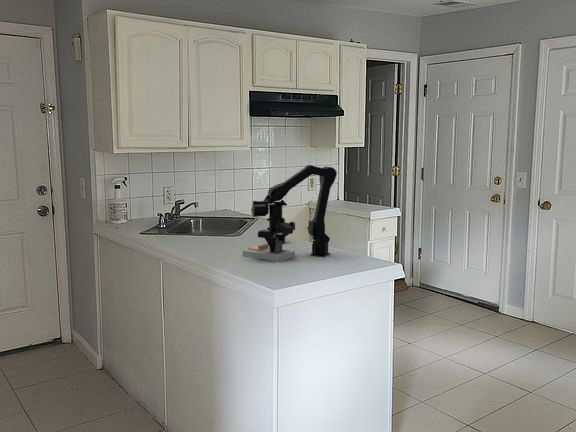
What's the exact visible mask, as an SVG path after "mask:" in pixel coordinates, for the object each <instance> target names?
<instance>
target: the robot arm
mask: <svg viewBox="0 0 576 432" xmlns="http://www.w3.org/2000/svg"><path fill="white" fill-rule="evenodd" d="M337 173H338V172H337V170H336V169H335V168H334V167H331V166H323V167H320V166H319V167H318V166H314V165H312V164H307V165H306V166H305V167H303V168H302V169H301V170H299V171H298V172H296V173H295V174H294V175H292V176H291V177H289V178H287V179H286V180H285V181H283V182H280V183H278V184H275V185H273V186H271V187H270V188H269V189H268V191H267V194H266V197H265V198H264V199H263V200H252V204H251V205H252V206H251V216H252V218H256V217H258V218H259V217H267V215H268V217H267V219H266V221H267V222H269V224H268V225H269V226H268V227H267V229H262V230H258V232H257V238H262V239H264V240H265V241H266V244H268V247H270V249H271V251H272V252H274V250H275V240H276V239H277V238H278V240H279V241H282V243H283V240H284V238H285V239H286V237H287V236H289V235H292V234H293V233H294V231H295V230H296V222H294V221H290V222H286V218H285V217H283V207H286V206H288V204H287V203H286V201H285V200H284V198H285V196H286V195H287V194H288V193H289V192H290V190H292V189H293V188H294V187H296V186H298V185H299V184H300V183H302V182H303V181H305V180H306V179H307V178H309V177H310V176H312V175H313V176H318V177H319V186H320V187H319V191H318V192H319V193H318V195H317V200H316V207H315V211H314V217H313V218H312V220H308V226H307V227H306V230H307V232H308V235H309V236H310V237H311V238H312V244H311V253H310V255H311V256H316V257H326V256H329V255H331V253H330V252H329V242H330V240H331V237H329V236H328V235H327V234H326V224H325V217H326V212H327V207H328V206H327V205H328V203H329V198H330V192H331V188H332V186H333V184H334V183H335V180H336V178H337V175H338V174H337Z"/></svg>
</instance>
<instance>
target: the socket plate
mask: <svg viewBox="0 0 576 432" xmlns="http://www.w3.org/2000/svg"><path fill="white" fill-rule="evenodd" d="M268 247H269V246H268ZM241 251H242V252H241V253H242V256H243V257H248V258H253V259H259V260H266V261H270V262H271V261H272V262H277V263H278V262H283V261H286V260H289V259H292V258H295V257H296V251H295V250H289V249H283V248H282V252H281V253H278V254H276V253H270V247H269V249H266V250H262V251H256V250H249V249H248V248H246V249H243V250H241Z"/></svg>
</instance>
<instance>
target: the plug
mask: <svg viewBox="0 0 576 432" xmlns="http://www.w3.org/2000/svg"><path fill="white" fill-rule="evenodd" d="M282 249H283V244H282V241H279V240H278V238H277V239H276V240H275V250H274V252H272V251H271V249H270V253H276V254H278V253H281V252H282Z"/></svg>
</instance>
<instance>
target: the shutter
mask: <svg viewBox="0 0 576 432" xmlns="http://www.w3.org/2000/svg"><path fill="white" fill-rule="evenodd" d="M247 249H249V250H256V251H262V250H266V249H269V245H268V243H264V244H260V245H254V246H250V247H248V248H247Z"/></svg>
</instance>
